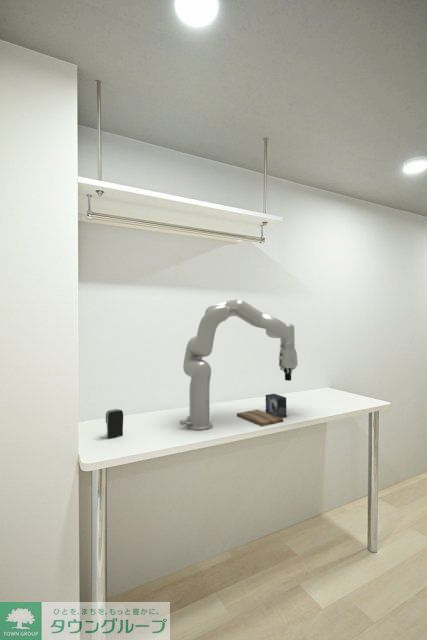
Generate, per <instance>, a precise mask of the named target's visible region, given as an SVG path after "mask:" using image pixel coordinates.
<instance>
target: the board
mask: <svg viewBox="0 0 427 640" xmlns="http://www.w3.org/2000/svg"><path fill="white" fill-rule="evenodd" d="M236 417H238V418H241V419H243V420H246V421H248V422H250V423H253V424H255V425H258V426H260V427H264V426H265V427H266V426H270V425H274V424H279V423H284V418H280V417H277V416H274V415H272V414H269V413H266V411H262V410H261V409H260V410H259V409H253V410H248V411H243V412H238V413H236Z"/></svg>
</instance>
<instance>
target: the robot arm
mask: <svg viewBox="0 0 427 640" xmlns="http://www.w3.org/2000/svg"><path fill="white" fill-rule="evenodd" d="M204 311H205V312H204V315H203V316H202V318H201V319H200V321H199V325H198V328H197V332H196V336H193V337H192V338H190V339H189V340H188V342H187V344H186V348H185V353H184V359H183V372H184V374H185V375H186V376H188V377H189V378H190V383H189V389H188V390H189V416H187V418H186V419H183V420H181V419H180V421H179V424H180V425H181V426H182V425H185V426H186V428H187V429H189V430H192V431H205V430H210V429H211V428H213V425H214V424H213V422H212V421H210V386H211V376H212V367H211V365H210V363H209V362H207V361H206V360H204V359H203V358H207V357H209V356H210V355H211V354H212V352H213V347H214V343H215V342H214V341H215V335H216V332H217V329H218V327H219V326H220V325H221V324H222V322H225V321H226V320H228V319H229V318H230V317H237V318H239V319H240V320H242V321H244V322H246V323H247V324H249V325H250V326H252V327H255V328H259V329H264V330H265V334H266V336H267V337H270V338H274V339H280V345H279V348H280V349H279V354H278V366H279V367H280V368H279V370H280V371H282V372H283V373H284V380H285V381H288V382H289V381H292V374H293V370H295V369H296V367H298V354H297V349H296V343H295V338H296V337H295V325H294V324H291V323H285V322H283V321H282V320H281V319H279V318H277V317H274V316H272V315H269V314H267V313H265V312H263V311H261V310H259V309H257V307H255V306H252V305H251V304H249V303H248V302H246V300H245V301H244V300H242V299H238V298H237V299H231V300H227V301H224V302H220V303H217V304H216V303H215V304H213V305H209V306H208V307H207V308H206V309H205V310H204Z"/></svg>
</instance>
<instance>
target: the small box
mask: <svg viewBox="0 0 427 640" xmlns="http://www.w3.org/2000/svg"><path fill="white" fill-rule="evenodd" d="M265 412H266V413H269V414H272V415H274V416H277V417H280V418H283V419H284V418H287V417H288V415H287V397H286V396H284V395H280V394H276V393H269V394H265Z"/></svg>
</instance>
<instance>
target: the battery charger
mask: <svg viewBox="0 0 427 640" xmlns="http://www.w3.org/2000/svg"><path fill="white" fill-rule="evenodd" d="M105 424H106V438H107V439H114V438H118V437H121V435H122V436H123V435H124V431H123V430H124V411H123V410H122V409H119V408H117V409H111V410H108V411H106V413H105ZM117 436H118V437H117ZM113 437H114V438H113Z"/></svg>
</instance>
